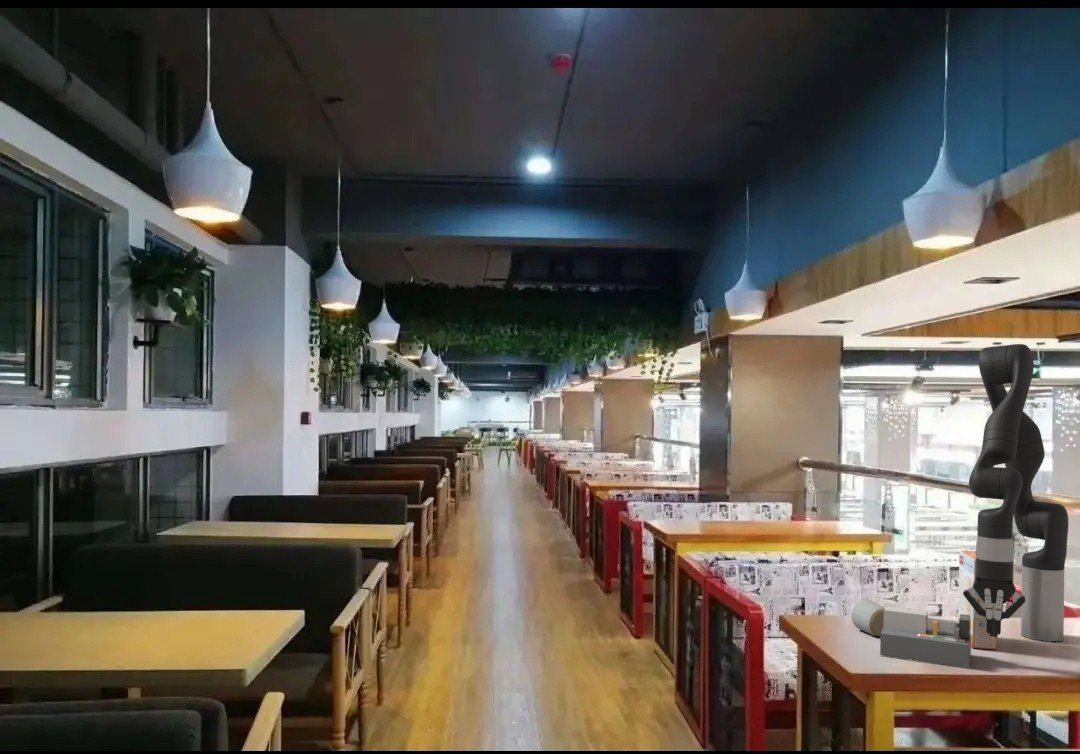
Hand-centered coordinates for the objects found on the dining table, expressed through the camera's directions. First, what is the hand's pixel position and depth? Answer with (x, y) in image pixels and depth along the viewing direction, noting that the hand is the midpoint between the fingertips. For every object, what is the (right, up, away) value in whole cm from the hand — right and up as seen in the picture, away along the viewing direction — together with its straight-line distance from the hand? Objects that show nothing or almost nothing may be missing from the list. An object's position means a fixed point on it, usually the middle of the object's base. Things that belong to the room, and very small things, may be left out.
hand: (993, 635), depth 203 cm
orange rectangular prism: (-12, 0, +1) cm, 12 cm away
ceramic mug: (-17, -6, +24) cm, 30 cm away
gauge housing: (-13, -6, +5) cm, 15 cm away
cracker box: (+5, -7, +17) cm, 19 cm away
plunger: (-10, -1, +3) cm, 10 cm away
